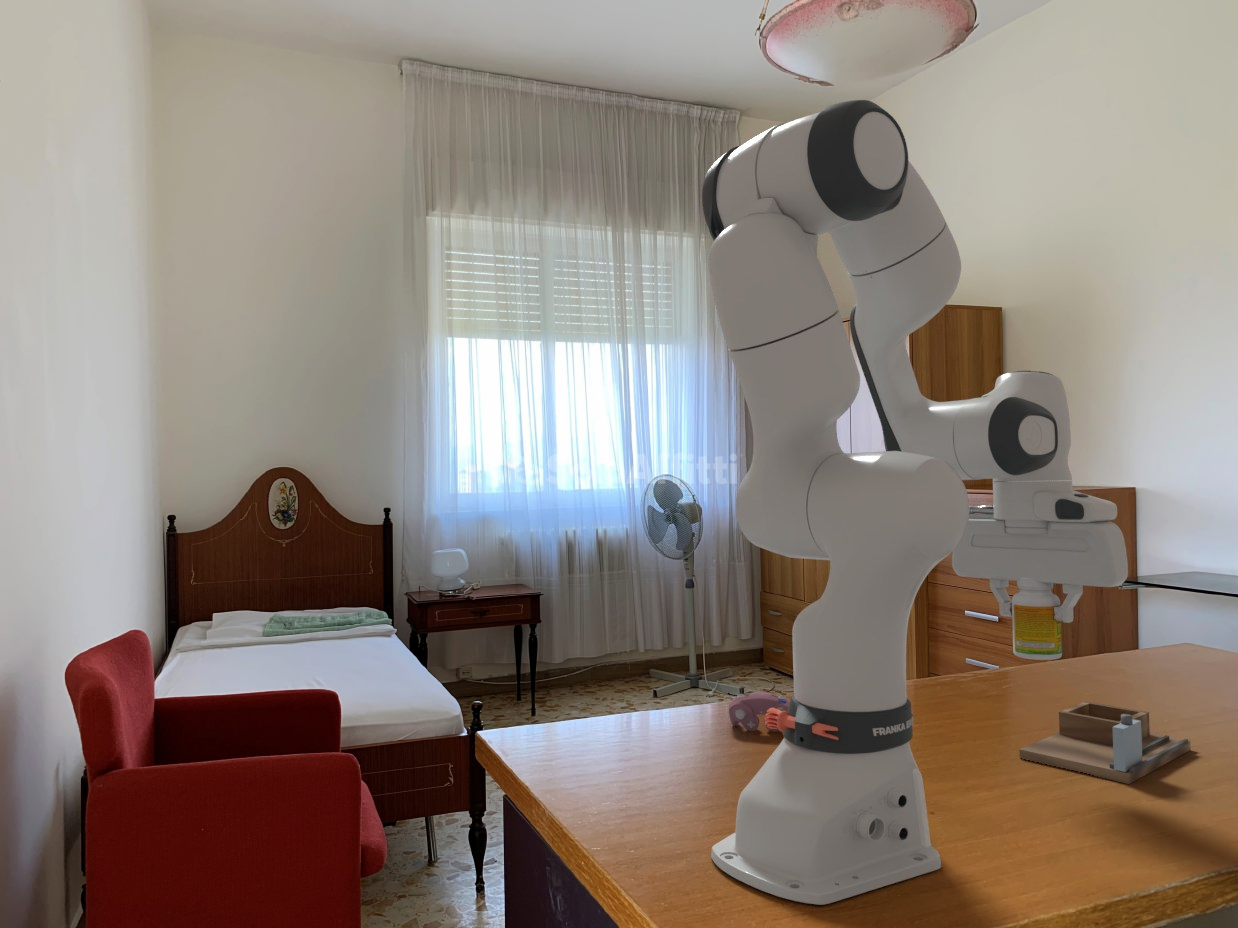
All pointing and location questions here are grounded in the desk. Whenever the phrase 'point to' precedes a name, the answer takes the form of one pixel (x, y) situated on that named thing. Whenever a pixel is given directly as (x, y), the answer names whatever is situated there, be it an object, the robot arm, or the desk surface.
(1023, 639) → the supplement bottle
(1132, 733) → the cover panel
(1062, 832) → the desk surface
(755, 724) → the video game controller
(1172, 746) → the board
